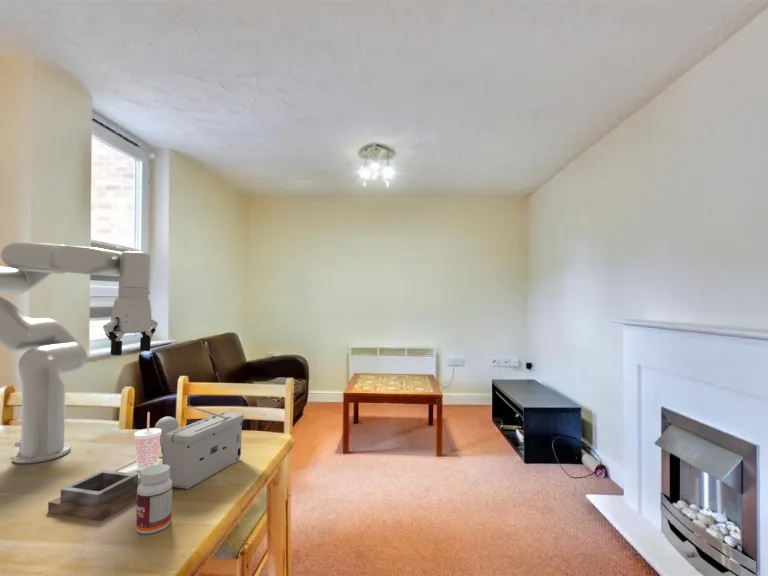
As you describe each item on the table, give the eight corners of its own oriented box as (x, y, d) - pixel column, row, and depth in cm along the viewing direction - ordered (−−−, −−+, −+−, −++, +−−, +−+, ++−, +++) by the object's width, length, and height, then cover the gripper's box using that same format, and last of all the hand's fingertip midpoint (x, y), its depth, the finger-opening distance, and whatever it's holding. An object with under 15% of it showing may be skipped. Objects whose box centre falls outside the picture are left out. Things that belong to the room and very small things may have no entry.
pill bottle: (131, 526, 79) (132, 469, 80) (164, 514, 84) (165, 460, 84) (142, 539, 75) (144, 479, 76) (176, 525, 80) (177, 468, 80)
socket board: (48, 511, 85) (48, 490, 85) (146, 462, 110) (147, 446, 110) (101, 520, 82) (101, 498, 82) (190, 468, 107) (190, 451, 107)
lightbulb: (167, 459, 112) (168, 420, 112) (149, 458, 113) (149, 419, 114) (182, 451, 118) (183, 414, 118) (164, 450, 119) (165, 413, 120)
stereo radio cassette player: (222, 455, 116) (223, 386, 116) (245, 459, 113) (246, 389, 113) (160, 487, 96) (161, 404, 97) (186, 493, 93) (188, 408, 94)
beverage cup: (131, 474, 98) (133, 416, 98) (134, 464, 103) (136, 410, 104) (160, 469, 101) (161, 413, 101) (161, 460, 106) (162, 407, 106)
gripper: (147, 294, 125) (145, 348, 125) (95, 293, 108) (92, 356, 108) (167, 294, 123) (165, 350, 123) (117, 293, 106) (114, 357, 106)
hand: (131, 352), depth 115 cm, fingers open, 9 cm apart
